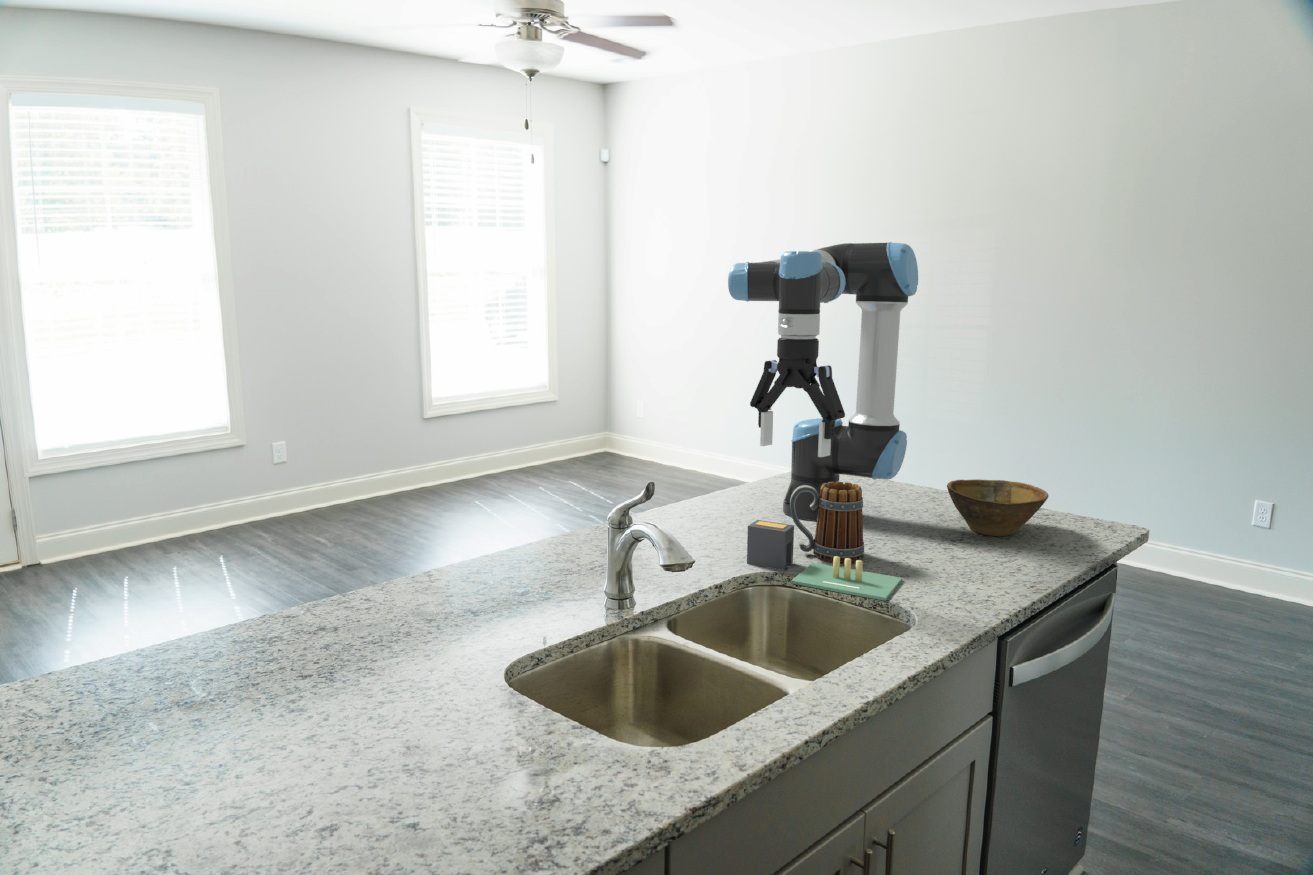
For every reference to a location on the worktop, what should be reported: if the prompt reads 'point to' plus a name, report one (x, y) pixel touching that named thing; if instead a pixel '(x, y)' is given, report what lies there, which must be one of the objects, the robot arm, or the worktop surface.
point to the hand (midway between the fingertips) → (794, 450)
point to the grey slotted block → (770, 544)
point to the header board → (847, 580)
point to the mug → (834, 521)
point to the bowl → (995, 504)
